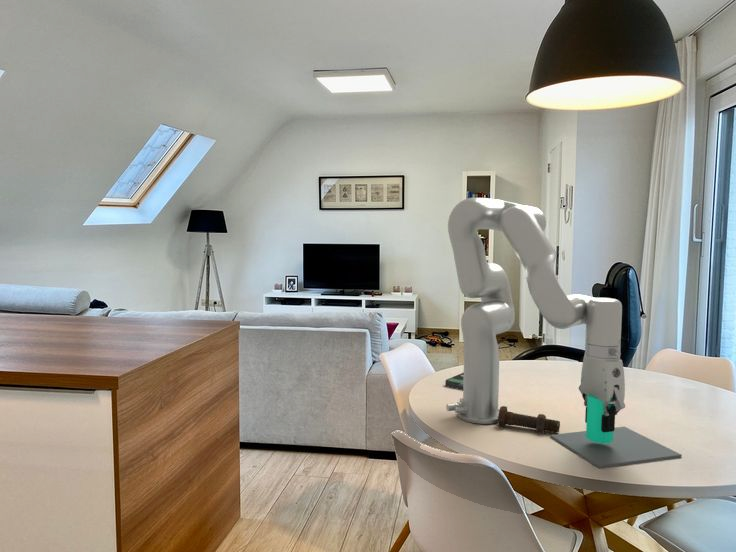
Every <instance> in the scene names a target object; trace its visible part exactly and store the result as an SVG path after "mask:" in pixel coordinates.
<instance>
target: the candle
mask: <svg viewBox="0 0 736 552" xmlns="http://www.w3.org/2000/svg"><path fill="white" fill-rule="evenodd" d="M610 401H613V399H610ZM611 406H612V404H608V409H609V408H610V407H611ZM586 407H587V423H586V425H585V426H586V428H585V431H586V438H587V439H589V440H591V441H593V442H597V443H611V442H613V431H612V432H602V431H601V424H602V415H604V411H603V402H602V401H600V400H599V399H596V398H594V397H592V396H590V395H588V397H587V406H586Z"/></svg>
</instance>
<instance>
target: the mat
mask: <svg viewBox="0 0 736 552" xmlns="http://www.w3.org/2000/svg"><path fill="white" fill-rule="evenodd" d="M549 436H550V438H551V439H553V440H554V441H556V442H557V443H558V444H560V445H562V446H564V447H565V448H566V449H568V450H570V451H571V452H573V453H574V454H576V455H577V456H579V457H581V458H582V459H584V460H586V461H587V462H588V463H590V464H592V465H594V466H595V467H596V468H597V469H604V468H605V469H606V468H612V467H618V466H626V465H632V464H641V463H649V462H656V461H663V460H670V459H678V458H682V456H683V455H682V454H681V453H679V452H677V451H676V450H673V449H671V448H669V447H667V446H664V445H663V444H661V443H659V442H657V441H655V440H653V439H650V438H649V437H646V436H645V435H642V434H641V433H638V432H636V431H634V430H632V429H630V428H628V427H625V426H617V427H615V430H614V431H613V442H611V443H597V442H593V441H591V440H589V439H587V438H586V430H583V431H582V430H580V431H574V432H565V433H556V434H555V433H554V434H550V435H549Z"/></svg>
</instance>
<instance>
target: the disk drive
mask: <svg viewBox="0 0 736 552" xmlns="http://www.w3.org/2000/svg"><path fill="white" fill-rule="evenodd" d="M463 380H464V372H462V373H459V374H457V375H455V376H452V377H449V378H447V379H445V385H444V387H446V386H449V387H448V388H451V387H453V388H452V389H455V388H458V389H457V390H460V389H462V390H461V391H463Z"/></svg>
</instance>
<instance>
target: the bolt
mask: <svg viewBox="0 0 736 552" xmlns="http://www.w3.org/2000/svg"><path fill="white" fill-rule="evenodd" d="M506 425H508V426H514V427H521V428H522V427H523V428H528V429H533V430H535V431H536V433H537V434H544V433H545V432H550V433H554V434H555V433H556V434H558V433H559V432H560V427H561V422H560V420H557V419H556V420H555V419H550V418H547V416H546V415H545V414H544V413H542V414H541V413H539V414H538V415H537V416H534V415H533V416H532V415H529V414H522V413H517V412H512V411H508V406H507V405H506V406H504V405H502V406H500V407H499V414H498V422H497V426H498V428H501V427H503V428H502V429H504V428H505V426H506Z"/></svg>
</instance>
